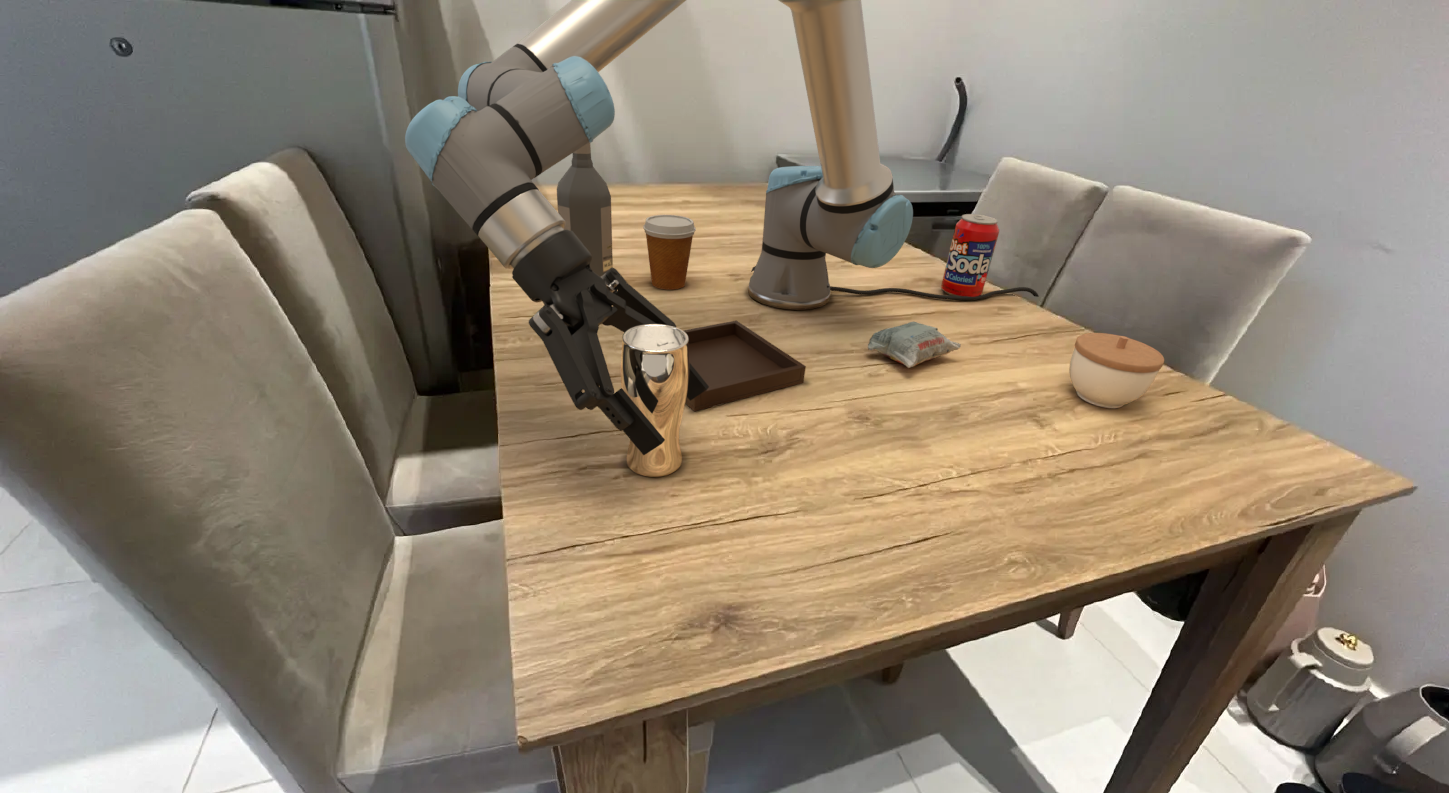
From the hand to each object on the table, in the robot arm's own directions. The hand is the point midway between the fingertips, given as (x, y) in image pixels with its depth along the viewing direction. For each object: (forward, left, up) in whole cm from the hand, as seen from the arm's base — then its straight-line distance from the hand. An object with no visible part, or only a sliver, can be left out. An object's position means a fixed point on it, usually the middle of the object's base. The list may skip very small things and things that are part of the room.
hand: (678, 418), depth 66 cm
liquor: (-13, -60, -6) cm, 62 cm away
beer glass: (+2, -2, -6) cm, 7 cm away
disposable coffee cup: (-26, -52, -6) cm, 59 cm away
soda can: (-77, -25, -6) cm, 82 cm away
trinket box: (-61, +13, -6) cm, 63 cm away
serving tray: (-16, -18, -6) cm, 25 cm away
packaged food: (-45, -8, -6) cm, 46 cm away
